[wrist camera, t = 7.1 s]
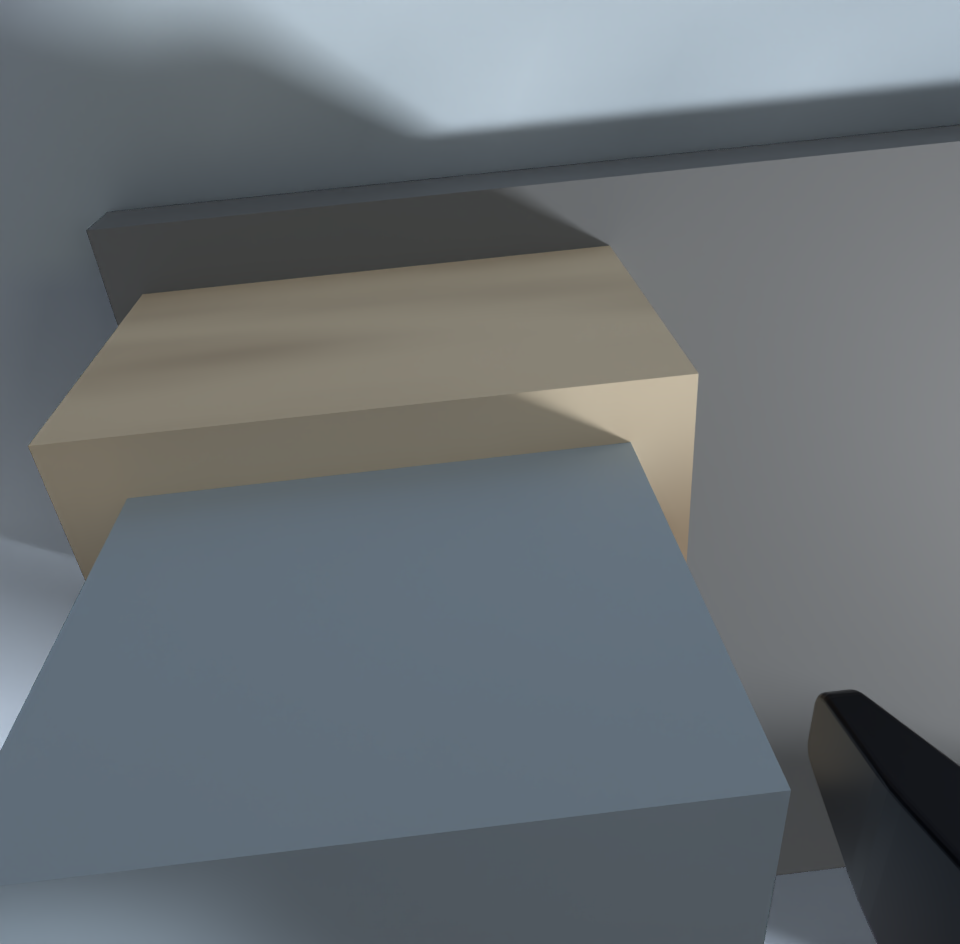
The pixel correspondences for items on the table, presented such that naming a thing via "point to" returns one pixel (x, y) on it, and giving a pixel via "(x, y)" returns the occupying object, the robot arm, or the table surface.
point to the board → (720, 382)
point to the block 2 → (392, 723)
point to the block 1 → (371, 383)
